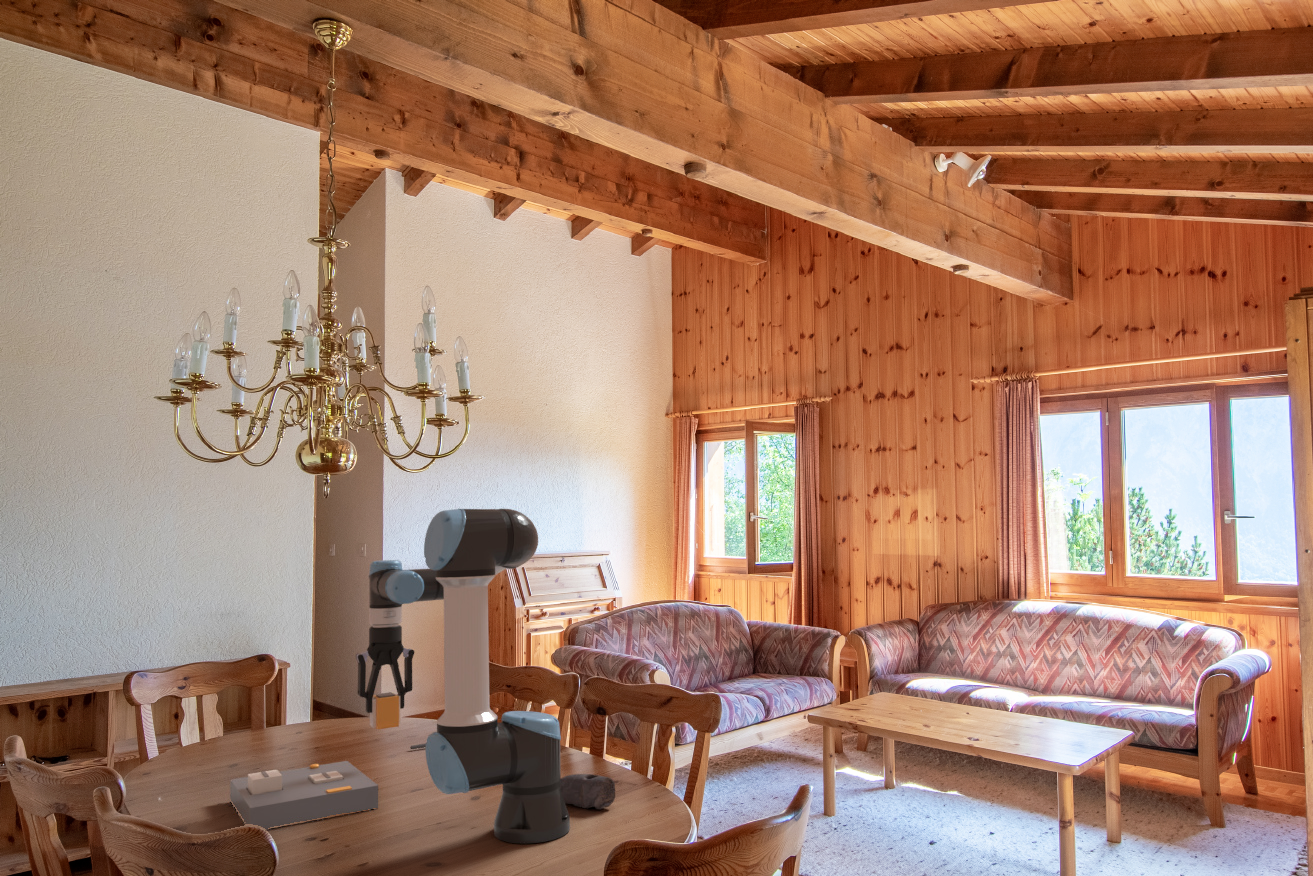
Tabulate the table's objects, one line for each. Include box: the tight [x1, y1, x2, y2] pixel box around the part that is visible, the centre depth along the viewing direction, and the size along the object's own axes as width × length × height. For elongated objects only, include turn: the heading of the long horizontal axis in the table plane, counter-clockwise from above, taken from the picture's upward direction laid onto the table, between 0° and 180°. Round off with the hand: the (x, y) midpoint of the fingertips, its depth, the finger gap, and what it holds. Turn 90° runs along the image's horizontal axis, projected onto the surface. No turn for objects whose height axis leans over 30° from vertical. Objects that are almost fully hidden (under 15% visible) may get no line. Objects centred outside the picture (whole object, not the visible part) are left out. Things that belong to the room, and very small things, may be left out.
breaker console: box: [229, 760, 379, 831], centre depth 203 cm, size 26×26×6 cm
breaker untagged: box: [247, 769, 282, 795], centre depth 199 cm, size 6×6×5 cm
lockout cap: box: [373, 692, 400, 730], centre depth 215 cm, size 5×5×7 cm
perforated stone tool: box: [561, 773, 616, 810], centre depth 198 cm, size 15×5×7 cm, turn 56°
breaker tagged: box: [309, 771, 343, 784], centre depth 206 cm, size 6×6×5 cm
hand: (385, 724), depth 215 cm, fingers closed on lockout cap, 5 cm apart
